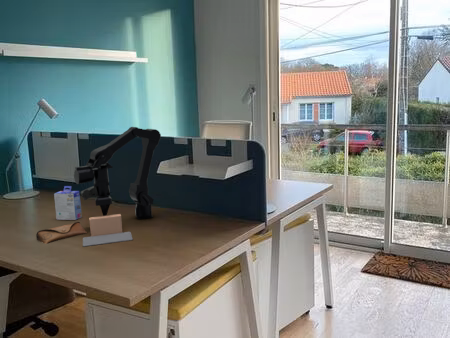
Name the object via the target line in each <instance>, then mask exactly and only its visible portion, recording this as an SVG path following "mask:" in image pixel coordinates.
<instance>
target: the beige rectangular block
mask: <svg viewBox="0 0 450 338" xmlns="http://www.w3.org/2000/svg"><path fill="white" fill-rule="evenodd" d="M121 214H122V213H117V214H109V215H108V214H107V215H106V216H103V215H100V216H92V217H89V218H88V219H89V227H90V228H89V229H90V237H91V236H99V235H107V234H115V233H123V223H122V215H121Z"/></svg>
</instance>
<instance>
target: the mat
mask: <svg viewBox="0 0 450 338" xmlns="http://www.w3.org/2000/svg"><path fill="white" fill-rule="evenodd" d="M130 241H133V235H132V233H131V231H125V232H123V231H122V233H115V234H107V235H99V236H91V235H90V236H86V237H82V247H92V246H100V245H107V244H113V243H120V242H130Z"/></svg>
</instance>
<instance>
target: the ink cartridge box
mask: <svg viewBox="0 0 450 338" xmlns="http://www.w3.org/2000/svg"><path fill="white" fill-rule="evenodd" d="M63 187H64V188H63V190H60V191H57V192H55V193H54V194H53V195H54V197H53V198H54V206H55V219H56V220H58V221H59V220H60V221H61V220H63V221H66V220H67V221H76V220H78V219H81V218H82V217H83V215H82V204H81V196H80V195H81V192H80V190H72V185H64V186H63Z"/></svg>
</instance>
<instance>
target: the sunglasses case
mask: <svg viewBox="0 0 450 338" xmlns="http://www.w3.org/2000/svg"><path fill="white" fill-rule="evenodd" d="M85 234H88V232H87V231H86V230H85V228H84V227H83V226H82V224H81V223H80V222H79V221H76V222H73V223H68V224H65V225H60V226H56V227H51V228H45V229H40V230H38V231H37V232H36V240H37V241H39V242H41V243H42V242H43V243H42V244H45V245H47V244H50V243H53V242H58V241H61V240H64V239H69V238H73V237H77V236H80V235H81V236H82V235H85Z"/></svg>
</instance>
